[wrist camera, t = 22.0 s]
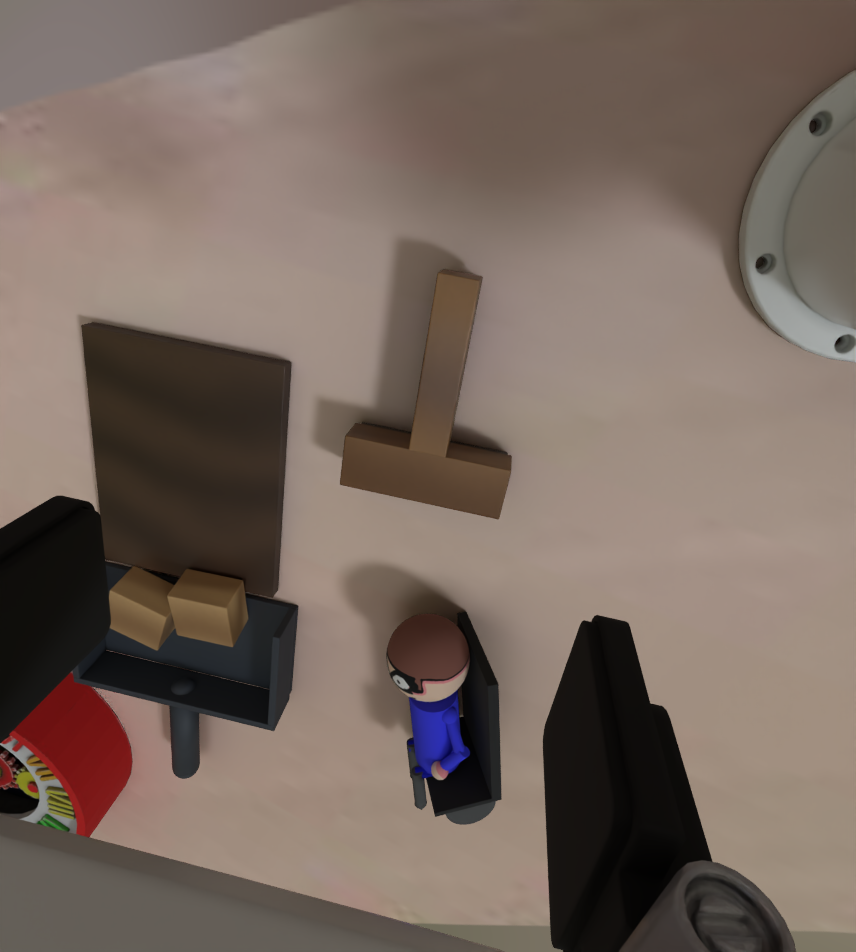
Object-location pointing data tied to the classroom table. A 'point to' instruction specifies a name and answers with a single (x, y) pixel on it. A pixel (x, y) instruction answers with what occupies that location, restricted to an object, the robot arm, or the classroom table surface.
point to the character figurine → (449, 715)
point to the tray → (188, 454)
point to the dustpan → (189, 693)
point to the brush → (433, 423)
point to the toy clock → (65, 761)
